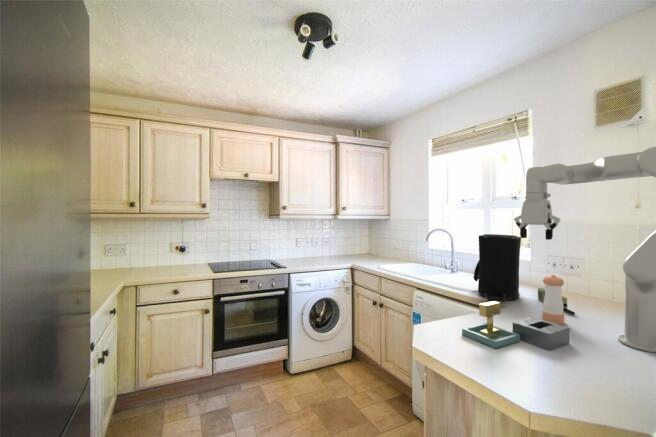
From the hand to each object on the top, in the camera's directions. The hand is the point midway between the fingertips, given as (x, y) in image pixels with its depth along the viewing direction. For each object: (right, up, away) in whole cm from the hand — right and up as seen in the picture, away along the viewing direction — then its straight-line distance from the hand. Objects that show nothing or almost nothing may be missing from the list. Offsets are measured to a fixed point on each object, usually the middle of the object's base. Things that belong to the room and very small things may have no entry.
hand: (535, 238), depth 124 cm
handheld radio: (+23, -35, +19) cm, 46 cm away
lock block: (-12, -35, -19) cm, 41 cm away
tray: (-28, -35, -17) cm, 48 cm away
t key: (-28, -34, -17) cm, 47 cm away
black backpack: (+5, -34, +42) cm, 54 cm away
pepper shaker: (+8, -35, +1) cm, 35 cm away
